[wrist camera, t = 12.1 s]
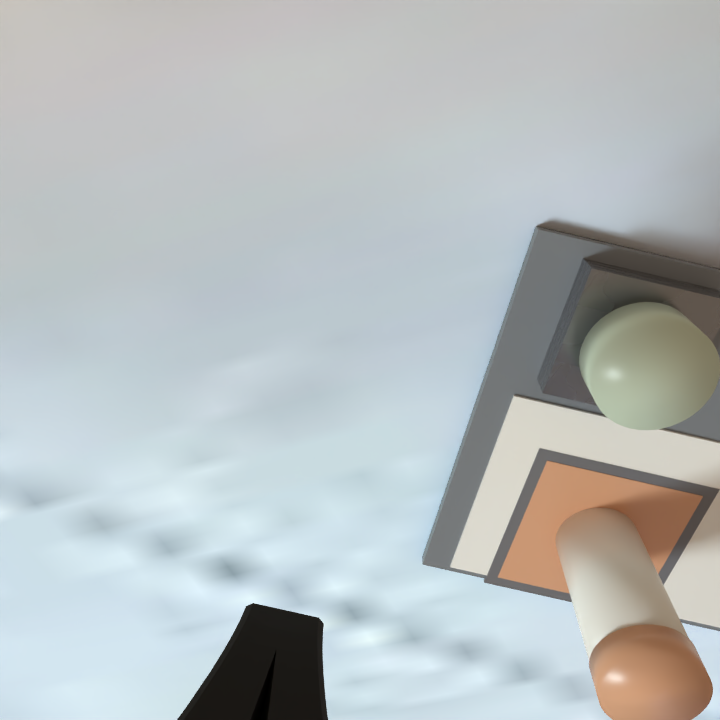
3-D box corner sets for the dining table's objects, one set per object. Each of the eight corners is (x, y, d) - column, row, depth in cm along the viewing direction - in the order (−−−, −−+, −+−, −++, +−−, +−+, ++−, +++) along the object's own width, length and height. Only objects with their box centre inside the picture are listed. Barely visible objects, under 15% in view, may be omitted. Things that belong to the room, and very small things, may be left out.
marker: (650, 513, 21) (730, 666, 16) (623, 576, 23) (689, 737, 17) (566, 500, 21) (618, 647, 16) (544, 563, 23) (585, 719, 17)
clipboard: (1031, 342, 18) (1048, 349, 18) (799, 643, 24) (807, 655, 23) (535, 226, 18) (539, 230, 17) (421, 558, 24) (421, 568, 23)
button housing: (717, 289, 18) (733, 301, 17) (659, 406, 20) (670, 422, 19) (583, 258, 18) (591, 268, 17) (536, 378, 20) (542, 393, 19)
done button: (700, 301, 18) (743, 337, 16) (654, 395, 19) (686, 441, 17) (593, 276, 18) (619, 308, 15) (554, 372, 19) (573, 415, 17)
